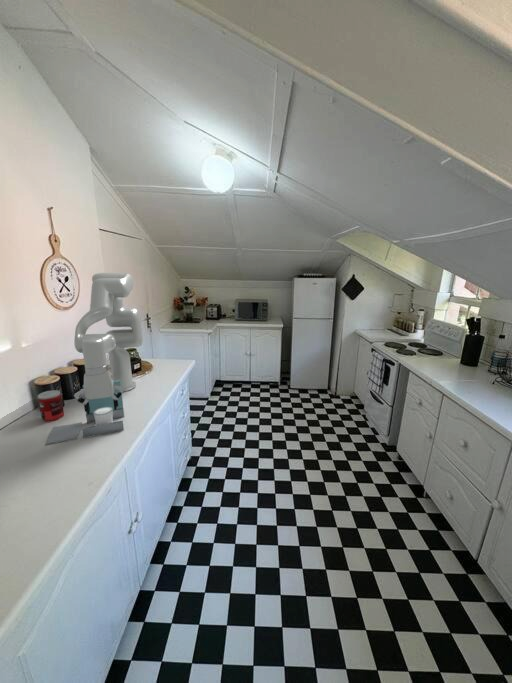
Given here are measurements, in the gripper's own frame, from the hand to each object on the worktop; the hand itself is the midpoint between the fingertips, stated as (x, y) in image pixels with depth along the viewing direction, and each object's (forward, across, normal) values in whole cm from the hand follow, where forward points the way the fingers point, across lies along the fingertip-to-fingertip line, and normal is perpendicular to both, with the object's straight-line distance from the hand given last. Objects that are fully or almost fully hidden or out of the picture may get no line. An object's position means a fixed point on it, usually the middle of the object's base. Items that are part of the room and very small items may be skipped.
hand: (102, 410), depth 114 cm
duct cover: (-3, 0, -7) cm, 8 cm away
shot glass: (+8, 0, -1) cm, 8 cm away
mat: (+7, +14, -1) cm, 16 cm away
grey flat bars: (+7, 0, -1) cm, 8 cm away
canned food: (+7, +21, -17) cm, 28 cm away
